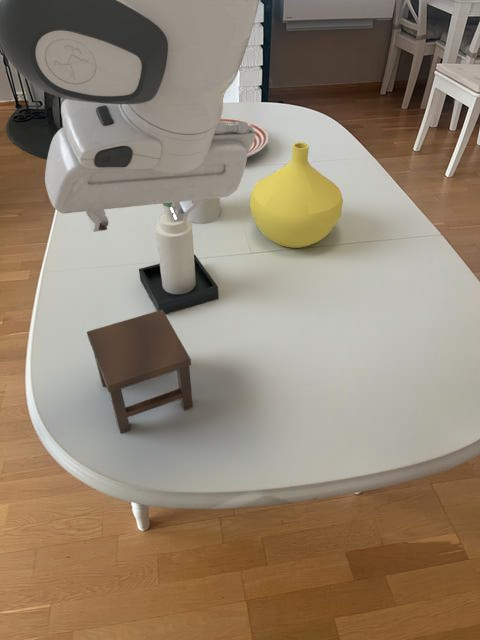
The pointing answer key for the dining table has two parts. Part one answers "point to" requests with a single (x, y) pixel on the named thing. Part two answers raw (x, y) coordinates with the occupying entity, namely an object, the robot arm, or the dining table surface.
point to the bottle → (175, 253)
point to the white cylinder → (205, 211)
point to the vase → (296, 203)
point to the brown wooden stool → (140, 361)
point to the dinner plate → (260, 135)
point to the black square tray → (174, 302)
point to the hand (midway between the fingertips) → (138, 221)
